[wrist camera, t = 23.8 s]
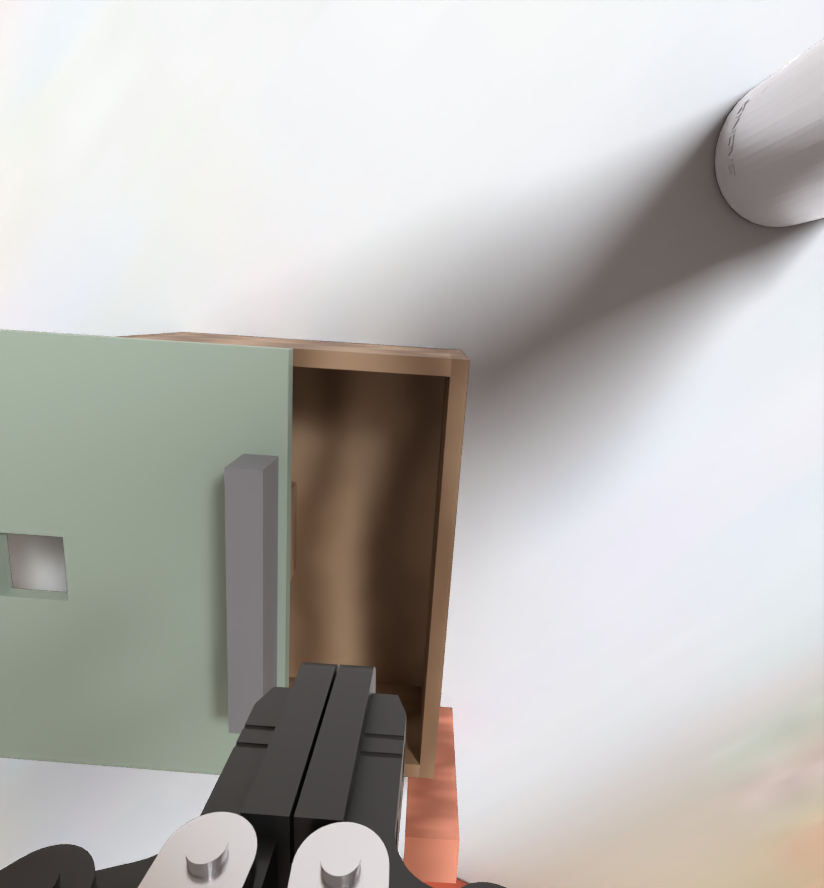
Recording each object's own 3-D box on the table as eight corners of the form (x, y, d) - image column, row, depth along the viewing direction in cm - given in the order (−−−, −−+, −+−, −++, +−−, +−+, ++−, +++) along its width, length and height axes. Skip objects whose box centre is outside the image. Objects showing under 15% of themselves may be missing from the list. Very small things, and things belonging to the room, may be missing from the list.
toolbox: (460, 350, 39) (469, 359, 31) (433, 690, 46) (433, 778, 37) (184, 332, 40) (114, 336, 31) (195, 672, 46) (139, 755, 37)
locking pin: (452, 707, 46) (459, 840, 34) (449, 742, 47) (455, 883, 35) (411, 705, 46) (405, 836, 35) (410, 739, 47) (402, 879, 35)
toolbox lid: (292, 348, 31) (273, 353, 27) (287, 767, 37) (270, 820, 33) (-76, 324, 31) (-148, 325, 27) (-19, 743, 38) (-71, 793, 34)
